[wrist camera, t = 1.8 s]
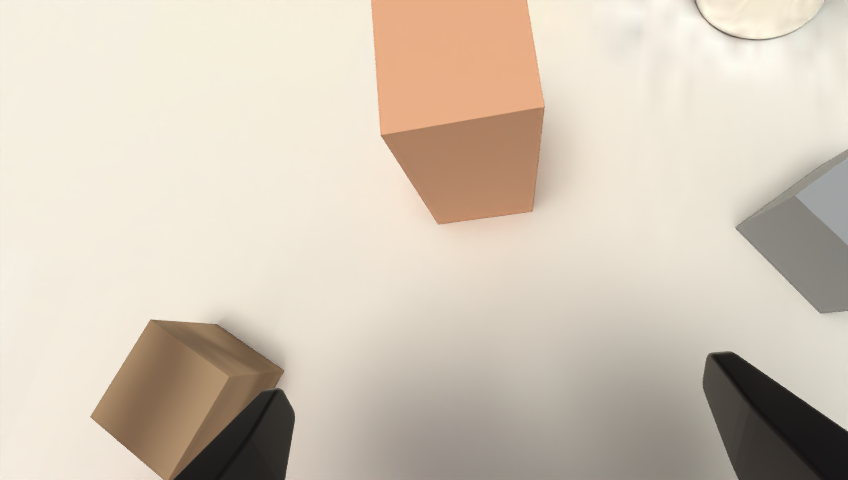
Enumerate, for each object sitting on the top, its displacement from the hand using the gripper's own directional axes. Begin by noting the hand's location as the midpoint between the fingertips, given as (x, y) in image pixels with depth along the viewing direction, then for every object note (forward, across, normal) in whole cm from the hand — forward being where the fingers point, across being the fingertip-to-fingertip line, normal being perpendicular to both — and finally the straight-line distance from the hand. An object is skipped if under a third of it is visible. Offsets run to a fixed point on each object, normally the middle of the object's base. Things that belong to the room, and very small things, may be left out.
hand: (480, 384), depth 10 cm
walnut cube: (+9, +15, +10) cm, 20 cm away
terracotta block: (+16, 0, +3) cm, 17 cm away
